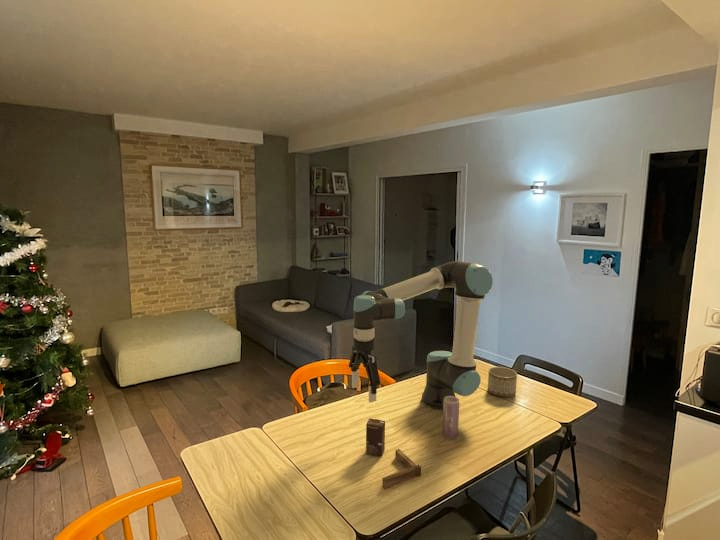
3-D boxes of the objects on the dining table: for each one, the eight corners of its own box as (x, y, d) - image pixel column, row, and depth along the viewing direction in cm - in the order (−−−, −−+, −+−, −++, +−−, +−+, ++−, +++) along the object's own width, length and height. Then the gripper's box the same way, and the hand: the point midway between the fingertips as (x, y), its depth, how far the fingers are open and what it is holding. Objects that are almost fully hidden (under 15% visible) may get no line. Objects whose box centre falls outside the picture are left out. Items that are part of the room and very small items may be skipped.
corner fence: (366, 467, 137) (366, 459, 137) (400, 455, 144) (400, 448, 143) (384, 489, 127) (384, 480, 126) (421, 475, 133) (421, 467, 133)
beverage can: (459, 433, 158) (460, 397, 155) (456, 441, 152) (457, 404, 150) (444, 430, 160) (445, 394, 158) (440, 437, 155) (441, 401, 153)
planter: (519, 399, 186) (521, 377, 185) (492, 398, 186) (493, 377, 185) (510, 387, 199) (511, 366, 197) (484, 386, 199) (485, 366, 197)
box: (365, 455, 144) (365, 423, 142) (369, 448, 148) (369, 417, 146) (382, 458, 142) (382, 426, 140) (385, 451, 146) (385, 420, 145)
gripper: (340, 330, 156) (340, 383, 159) (371, 350, 135) (371, 410, 138) (357, 328, 159) (357, 379, 163) (390, 346, 138) (390, 405, 141)
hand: (363, 394), depth 150 cm, fingers open, 12 cm apart
